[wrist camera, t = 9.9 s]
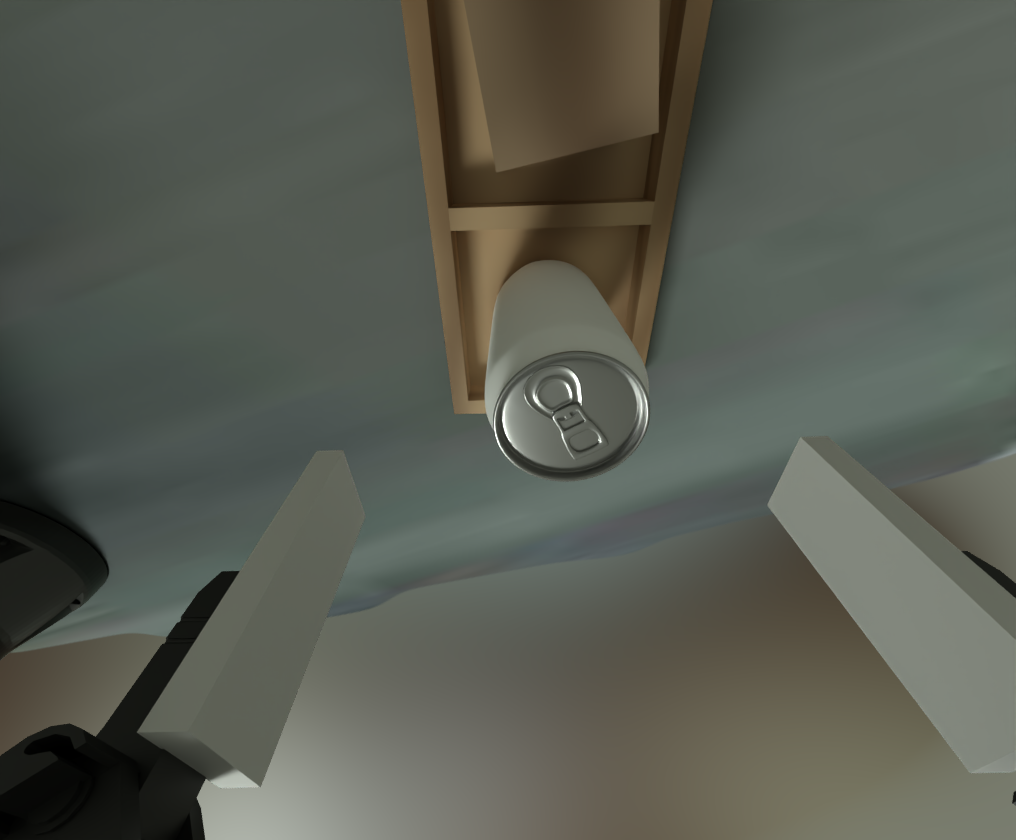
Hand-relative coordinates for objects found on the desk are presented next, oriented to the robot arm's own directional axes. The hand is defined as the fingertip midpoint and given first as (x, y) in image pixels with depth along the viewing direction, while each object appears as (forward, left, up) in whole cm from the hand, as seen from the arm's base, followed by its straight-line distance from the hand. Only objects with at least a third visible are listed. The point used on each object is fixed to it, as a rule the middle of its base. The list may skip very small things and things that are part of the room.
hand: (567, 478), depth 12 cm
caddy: (0, +6, -15) cm, 16 cm away
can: (0, 0, -15) cm, 15 cm away
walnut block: (0, +11, -15) cm, 18 cm away
